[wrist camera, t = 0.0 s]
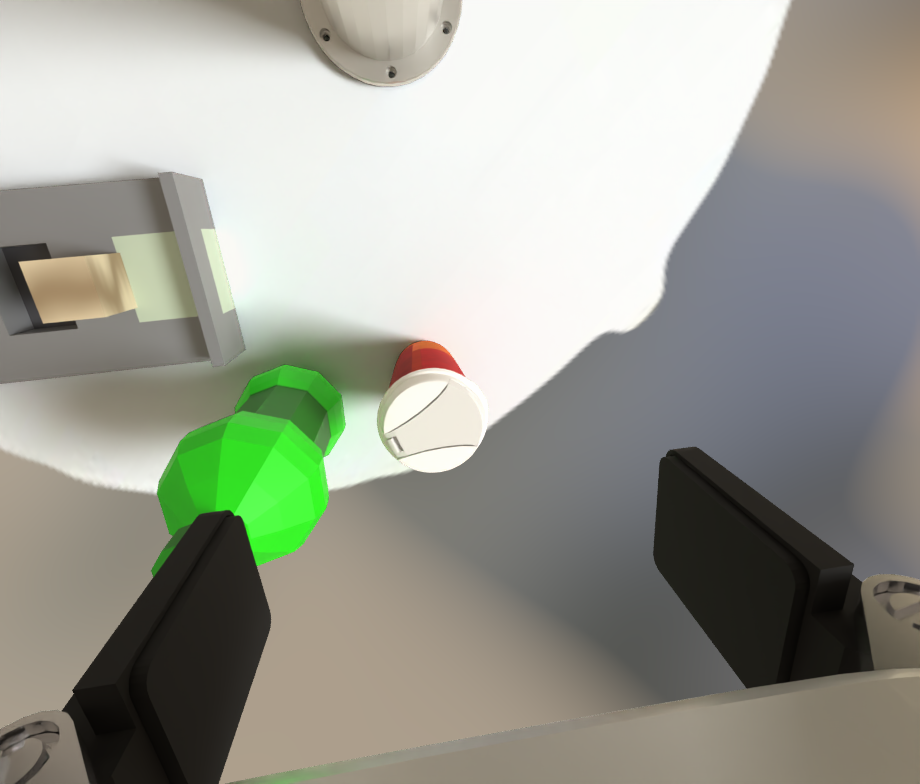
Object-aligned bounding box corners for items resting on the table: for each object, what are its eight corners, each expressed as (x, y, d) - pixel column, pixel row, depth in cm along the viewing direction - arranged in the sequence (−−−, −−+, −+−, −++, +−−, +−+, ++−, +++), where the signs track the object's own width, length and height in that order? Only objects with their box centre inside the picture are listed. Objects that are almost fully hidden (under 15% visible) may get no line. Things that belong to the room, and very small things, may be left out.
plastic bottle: (259, 453, 48) (122, 666, 25) (238, 355, 45) (55, 496, 21) (356, 444, 49) (313, 642, 26) (344, 348, 46) (280, 475, 22)
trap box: (-117, 205, 37) (-200, 201, 32) (202, 179, 39) (171, 172, 34) (-33, 380, 43) (-94, 401, 37) (245, 349, 44) (224, 365, 39)
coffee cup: (405, 418, 49) (406, 495, 35) (370, 349, 46) (355, 403, 32) (478, 386, 48) (508, 451, 34) (447, 315, 46) (466, 353, 32)
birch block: (61, 258, 37) (18, 261, 33) (119, 252, 38) (84, 255, 34) (82, 313, 39) (43, 323, 35) (137, 307, 39) (105, 317, 35)
